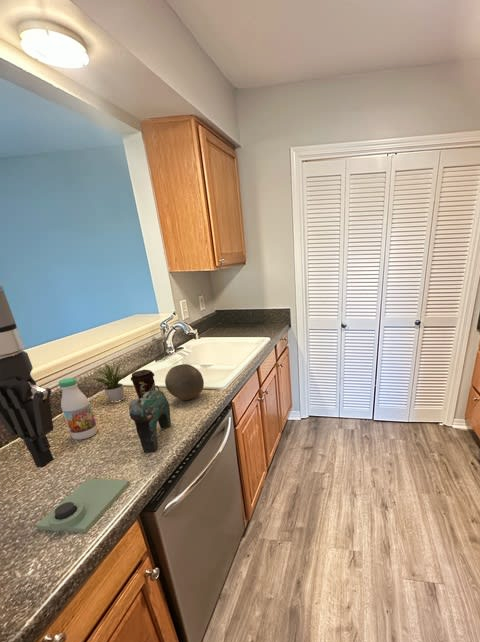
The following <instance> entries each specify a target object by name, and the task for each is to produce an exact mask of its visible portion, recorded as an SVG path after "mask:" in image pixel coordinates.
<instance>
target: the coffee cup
mask: <svg viewBox="0 0 480 642" xmlns="http://www.w3.org/2000/svg"><path fill="white" fill-rule="evenodd" d="M154 377H155V373H154V372H153V371H152V370H150V369H140V370H137V371H133V372H132V373H131V376H130V381H131V382H132V384H133V387H134V391H135V392H136V395H137V399H141V398H142V396H141V393H140V387H141V385H142V384H146V386H145V385H143V386H142V391H141V392H142V395H144V394H145V393H147V392H148V391H150V389H151V388H152V387H153V386H156V382H155V379H154ZM155 390H157V389H156V387H155V388H153V389H152V391H155Z"/></svg>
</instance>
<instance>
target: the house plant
mask: <svg viewBox="0 0 480 642" xmlns="http://www.w3.org/2000/svg"><path fill="white" fill-rule="evenodd" d="M125 362H126V360H124V361H122V362H120V363H116V364H115V365H114V366H112V365H110V366H109V364H107V363H106V362H105V363H104V366H105V369H103V368H101V367H99V366H98V367H97V368H98V369H97V368H96V369H95V368H91V370H93V371H96V372H98V373H99V374H100V375H101V376H102V377H103V378H102V377H97V376H96V377H95V376H90V377H87V378H88V379H93V380H95V382H94V383H93V385H95V384H97V383H101V384H104V385H106V386H105V387H103V390H104V392H105V394H106V396H107V398H108V400H109V402H110V401H113V402H115V401H119V400H122V399H123V398H124V399H125V391H124V384H123V383H120V381H121V380H122V379H124V376H125V374H120V370H122V368H123V367H122V368H121V366H122V364H123V363H125ZM117 365H118V366H117ZM116 366H117V367H116ZM115 368H116V369H115ZM114 371H115V372H114ZM96 372H95V374H96V375H98V373H96Z"/></svg>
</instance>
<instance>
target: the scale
mask: <svg viewBox="0 0 480 642" xmlns="http://www.w3.org/2000/svg"><path fill="white" fill-rule="evenodd" d="M130 485H131V481H130V480H129V479H109V478H86V479H85V480H84V481H83V482H82V483H81V484H79V485H78V486H77V487H76V488H75V489H74V490H73V491H72V492H71V493H69V494H68V495H67V497H65V498H64V499H63V500H62V501H61V502H60V503H59V504H57V506H55V507H54V508H53V509H52V510H51V511H50V512H49V513H48V514H47V515H46V516H44V518H42V519H41V520H40V521H39V522H37V524H35V527H36V529H37V530H38V531H51V532H52V531H54V532H67V533H68V532H69V533H83V534H84V533H85V534H87V533H88V532H89V530H90V529H92V528H93V526H94V525H95V524H96V523H97V522H98V521H99V520H100V518H101V517H102V516H104V514H105V513H106V512H107V511H108V509H109V508H110V507H111V506H112V505H113V504H114V503H115V502H116V500H117V499H118V498H119V497H121V495H122V494H123V493H124V491H125V490H126V489H127V488H128V487H129V486H130ZM67 502H72V503H74V506H75V508H76V512H75V513H74V514H73V515H71V516H70V517H68V518H65V519H62V520H59V519H57V517H56V514H55V509H56V508H57V507H58V506H60V505H61V504H63V503H67Z"/></svg>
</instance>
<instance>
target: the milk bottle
mask: <svg viewBox="0 0 480 642" xmlns="http://www.w3.org/2000/svg"><path fill="white" fill-rule="evenodd" d="M58 386H59V389H61V401H60V407H61V411H62V414H63V416H64V417H63V418H64V420H65V422H66V425H67V428H68V430H69V433H70V437H71V438H72V439H73V440H77V441H78V440H79V441H80V440H85V439H89V438H91V437H93V436H95V435H97V434H98V432H99V427H98V425H97V421H96V418H95V416H94V413H93V409H92V407H91V403H90V401H89V399H88V397H87V396H86V395H85V394H84V393H83V392H82V391H81V390H80V389H79V387H78V383H77V379H76V378H74V377H68V378H64V379H61V380H59V381H58ZM97 431H98V432H97Z"/></svg>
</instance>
